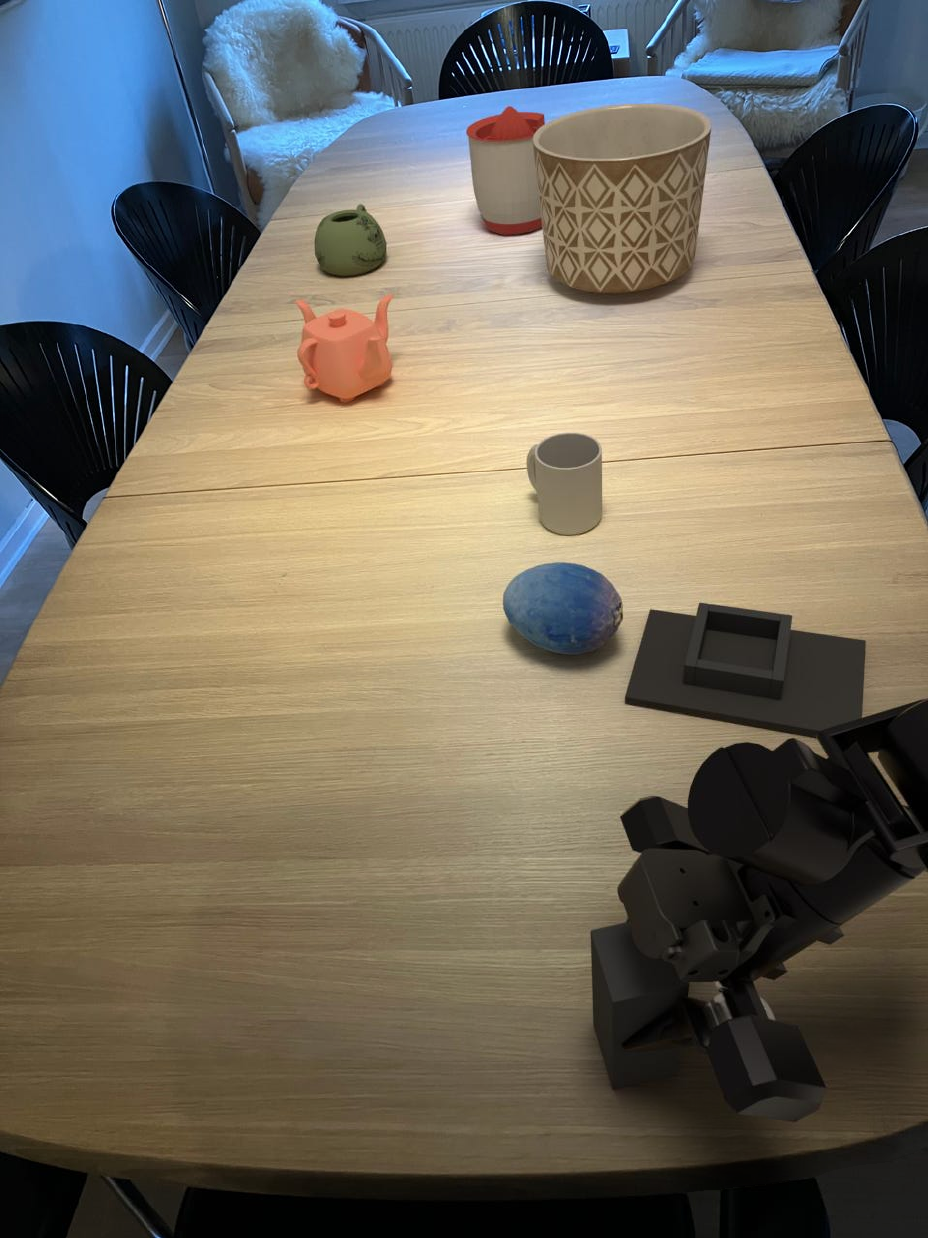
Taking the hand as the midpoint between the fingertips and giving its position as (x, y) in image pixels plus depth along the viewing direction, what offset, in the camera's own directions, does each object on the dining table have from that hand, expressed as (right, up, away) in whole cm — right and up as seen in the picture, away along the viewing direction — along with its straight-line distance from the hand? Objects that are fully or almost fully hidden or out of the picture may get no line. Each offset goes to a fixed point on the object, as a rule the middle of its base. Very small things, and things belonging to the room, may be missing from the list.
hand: (615, 1010), depth 58 cm
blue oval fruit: (+2, +22, +33) cm, 40 cm away
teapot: (-25, +59, +77) cm, 100 cm away
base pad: (+17, +19, +28) cm, 37 cm away
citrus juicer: (+1, +98, +115) cm, 151 cm away
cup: (+2, +37, +49) cm, 61 cm away
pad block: (+2, -4, +5) cm, 7 cm away
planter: (+16, +81, +94) cm, 125 cm away
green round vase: (-29, +89, +110) cm, 145 cm away
